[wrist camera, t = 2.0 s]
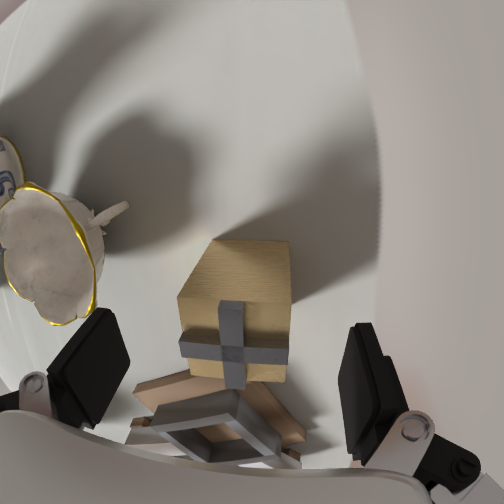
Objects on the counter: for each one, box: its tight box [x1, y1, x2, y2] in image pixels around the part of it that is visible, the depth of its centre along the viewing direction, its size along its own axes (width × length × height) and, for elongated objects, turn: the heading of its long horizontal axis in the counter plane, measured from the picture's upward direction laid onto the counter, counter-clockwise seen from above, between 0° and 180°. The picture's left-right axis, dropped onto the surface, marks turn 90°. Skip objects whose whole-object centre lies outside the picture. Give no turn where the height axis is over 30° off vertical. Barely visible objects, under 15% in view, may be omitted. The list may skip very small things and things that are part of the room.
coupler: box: [177, 240, 292, 390], centre depth 14 cm, size 4×4×7 cm
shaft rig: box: [124, 369, 306, 469], centre depth 23 cm, size 17×16×4 cm
